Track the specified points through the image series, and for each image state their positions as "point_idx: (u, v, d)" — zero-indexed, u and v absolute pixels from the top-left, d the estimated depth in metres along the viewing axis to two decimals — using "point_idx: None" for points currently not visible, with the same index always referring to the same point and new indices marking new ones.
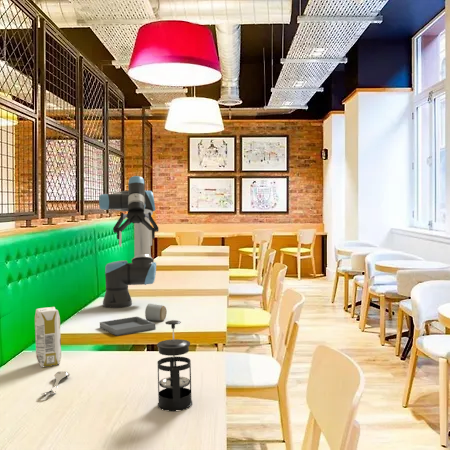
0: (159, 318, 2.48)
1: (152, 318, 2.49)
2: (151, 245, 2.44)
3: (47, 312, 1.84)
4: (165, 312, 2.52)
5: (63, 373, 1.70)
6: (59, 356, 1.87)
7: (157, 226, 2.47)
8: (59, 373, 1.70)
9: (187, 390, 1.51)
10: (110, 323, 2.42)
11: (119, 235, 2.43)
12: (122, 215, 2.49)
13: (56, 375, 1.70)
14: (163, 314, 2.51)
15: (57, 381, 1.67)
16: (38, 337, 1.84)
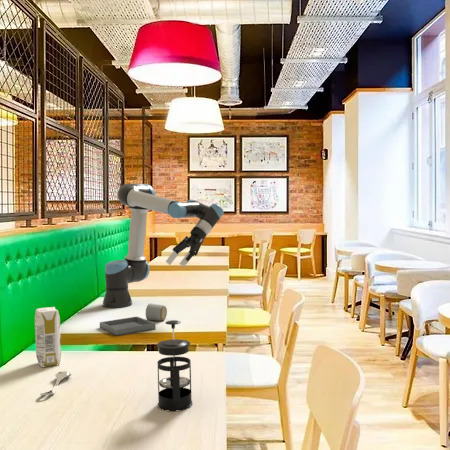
0: (159, 318, 2.49)
1: (152, 318, 2.50)
2: (166, 261, 2.63)
3: (47, 312, 1.84)
4: (165, 312, 2.53)
5: (64, 373, 1.70)
6: (59, 356, 1.87)
7: (177, 251, 2.69)
8: (60, 373, 1.70)
9: (187, 390, 1.51)
10: (110, 323, 2.42)
11: None
12: None
13: (57, 375, 1.70)
14: (164, 314, 2.51)
15: (58, 381, 1.67)
16: (38, 337, 1.84)
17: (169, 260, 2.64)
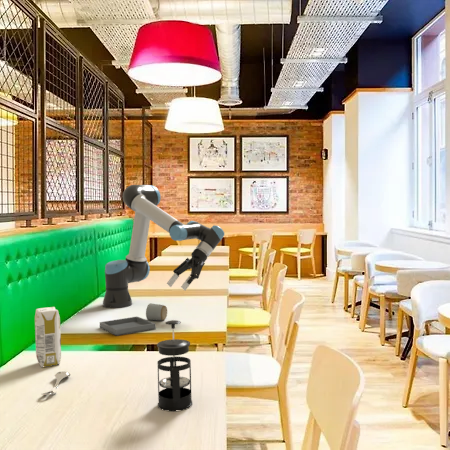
0: (160, 318, 2.49)
1: (153, 318, 2.50)
2: (167, 283, 2.63)
3: (47, 312, 1.84)
4: (166, 312, 2.53)
5: (64, 373, 1.70)
6: (59, 356, 1.87)
7: None
8: (60, 373, 1.70)
9: (187, 390, 1.51)
10: (110, 323, 2.42)
11: (190, 283, 2.55)
12: None
13: (57, 375, 1.70)
14: (164, 313, 2.51)
15: (58, 381, 1.66)
16: (38, 337, 1.84)
17: (170, 282, 2.64)
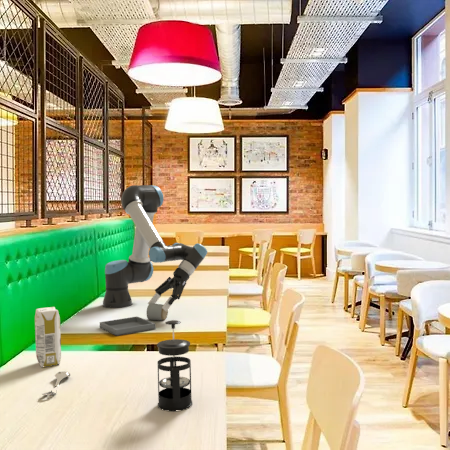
0: (160, 317, 2.50)
1: (153, 317, 2.51)
2: (148, 303, 2.58)
3: (47, 312, 1.84)
4: (166, 311, 2.54)
5: (64, 373, 1.70)
6: (59, 356, 1.87)
7: None
8: (60, 373, 1.70)
9: (187, 390, 1.51)
10: (110, 323, 2.42)
11: (171, 304, 2.49)
12: None
13: (57, 375, 1.70)
14: (165, 313, 2.52)
15: (58, 381, 1.66)
16: (38, 337, 1.84)
17: (151, 302, 2.58)
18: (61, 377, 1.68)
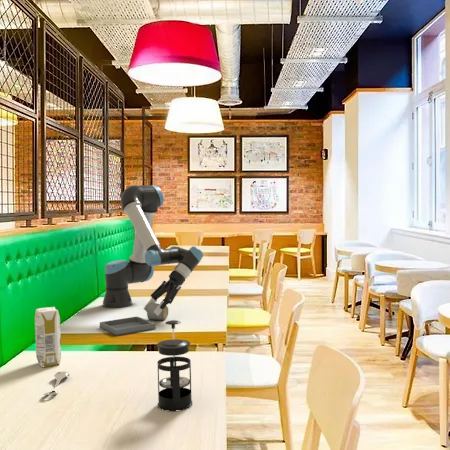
0: (161, 317, 2.50)
1: (154, 317, 2.51)
2: (143, 308, 2.55)
3: (47, 312, 1.84)
4: (167, 311, 2.54)
5: (63, 373, 1.70)
6: (59, 356, 1.87)
7: (155, 296, 2.62)
8: (59, 373, 1.70)
9: (187, 390, 1.51)
10: (110, 323, 2.42)
11: (163, 308, 2.49)
12: None
13: (56, 375, 1.69)
14: (165, 313, 2.52)
15: (58, 381, 1.66)
16: (38, 337, 1.84)
17: (147, 307, 2.56)
18: (61, 377, 1.68)
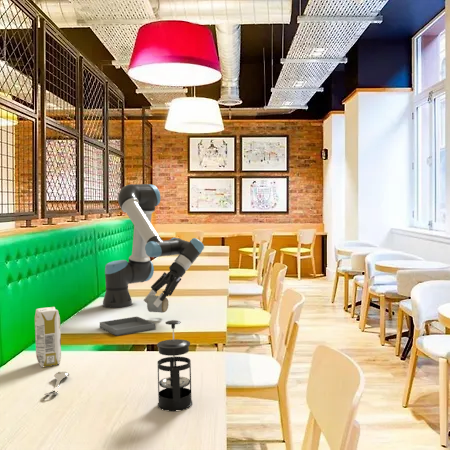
0: (161, 310, 2.50)
1: (154, 309, 2.51)
2: None
3: (47, 312, 1.84)
4: (167, 304, 2.54)
5: (63, 373, 1.70)
6: (59, 356, 1.87)
7: (155, 288, 2.61)
8: (59, 373, 1.70)
9: (187, 390, 1.51)
10: (110, 323, 2.42)
11: None
12: None
13: (56, 375, 1.69)
14: (165, 305, 2.52)
15: (58, 381, 1.66)
16: (38, 337, 1.84)
17: (147, 299, 2.55)
18: (61, 377, 1.68)
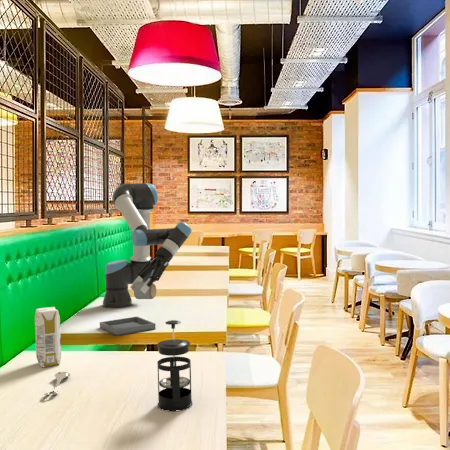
0: (148, 296, 2.40)
1: (141, 296, 2.41)
2: (130, 287, 2.45)
3: (47, 312, 1.84)
4: (155, 290, 2.44)
5: (64, 373, 1.70)
6: (59, 356, 1.87)
7: (142, 275, 2.51)
8: (60, 373, 1.70)
9: (187, 390, 1.51)
10: (110, 323, 2.42)
11: None
12: None
13: (57, 375, 1.69)
14: (153, 292, 2.42)
15: (58, 381, 1.66)
16: (38, 337, 1.84)
17: (134, 286, 2.45)
18: (61, 377, 1.68)
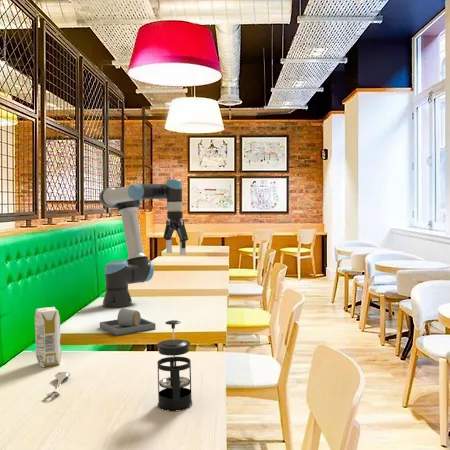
0: (132, 324, 2.35)
1: (125, 324, 2.36)
2: None
3: (47, 312, 1.84)
4: (139, 317, 2.39)
5: (64, 373, 1.70)
6: (59, 356, 1.87)
7: None
8: (60, 374, 1.70)
9: (187, 390, 1.51)
10: (110, 323, 2.42)
11: None
12: None
13: (57, 376, 1.69)
14: (137, 319, 2.37)
15: (59, 382, 1.66)
16: (38, 337, 1.84)
17: (168, 250, 2.73)
18: (62, 377, 1.68)
